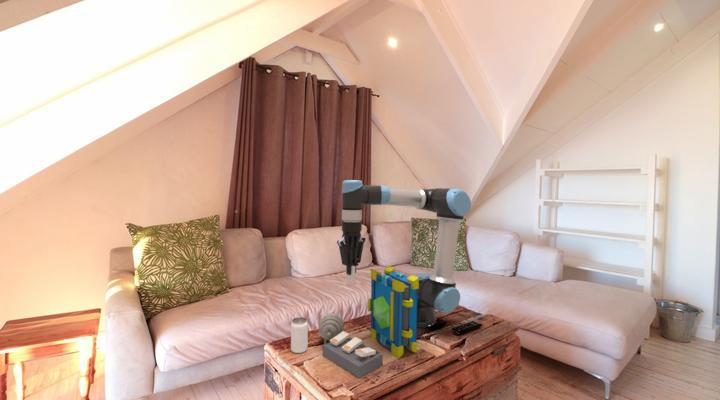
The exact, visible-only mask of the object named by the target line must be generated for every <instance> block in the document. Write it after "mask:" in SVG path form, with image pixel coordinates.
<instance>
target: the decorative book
mask: <svg viewBox="0 0 720 400" xmlns="http://www.w3.org/2000/svg"><path fill="white" fill-rule="evenodd" d="M395 270H396V268H395V267H392V266H390V265H389V266H387V267H385V268H384V269H383V275H382V272H380V271H378V270H376V269H373V268H370V279H371V288H370V289H371V290H370V291H371V292H370V294H371V295H370V296H371V297H369V298H368V300H367V301H368V302H367V311H368V312H370V338H371V340H373V339H374V340H375V341H374V340H373V341H374V342H377V341H379V342H380V343H381V344H382V345H383V346H384V347H386V348H387V349H389V350H390V351H391V352H390V354H391V355H392V356H393V357H394V358H396V359H397V360H399V359H400V358H402V356H403V355H404V347H405V348H406V349H408V350H409V351H411V352H412V353H418V342H417V340H418V339H417V336H418V334H417V333H418V332H417V330H418V327H417V292H418V289H419V278H418V277H416V276H413V275H412V274H411V275H410V276H407V274H405V273H402V272H398V271H395Z"/></svg>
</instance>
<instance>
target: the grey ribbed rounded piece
mask: <svg viewBox="0 0 720 400" xmlns="http://www.w3.org/2000/svg"><path fill="white" fill-rule="evenodd" d="M344 329H345V324H344V321H343V319H342V317H341V316H340V315H338V314H337V313H335V312H330V313H327V314H326V315H324V316H323V317H322V318H321V320H320V321H319V323H318V332H319V336H321V338H322V339H323V345H325V344H327V343H328V342H330V340H331V339H332V338H334V337H335V336H337V335H338V334H340V333H341V332H343V331H344Z"/></svg>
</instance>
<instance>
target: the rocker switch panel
mask: <svg viewBox="0 0 720 400" xmlns="http://www.w3.org/2000/svg"><path fill="white" fill-rule="evenodd" d="M352 339H353V338H352V337H349V338H347V339H346V340H345V341H343V342H342V343H340V344H339V345H338V346H335V345H333V344H331V343H330V342H327V344H325V345H324V344H323V345H322V356H323V357H324V358H326V359H327V358H328V359H327V360H329V361H331V362H332V361H333V364H335V363H336V365H337V366H339V367H341V368H342V369H344V370H345V371H346V372H349V373H350V374H351V375H353V376H355V377H357V378H358V379H360V378H362V377H364V376H365V375H367V374H369V373H371V372H372V371H375V370H376V369H378V368H380V367H382V366H383V365H384V364H383V363H384V361H383V359H384V358H383V357H384V354H383V353H381V352H379V351H378V350H376V349H373V348H371V347H370V346H367V345H366V344H364V343H362V344H360V345H359V346H358V347H357V348H356V349H354V350H353V351H352V352H350V353H347V352H345V351H343V350H342V347H343V346H344V345H345V344H347V343H348V342H349V341H350V340H352ZM367 347H369V348H371V349H373V350H375V351H376V353H375V354H374V355H369V356H365V357H361V356H359V355H357V354H355V350H357V349H362V348H367Z"/></svg>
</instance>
